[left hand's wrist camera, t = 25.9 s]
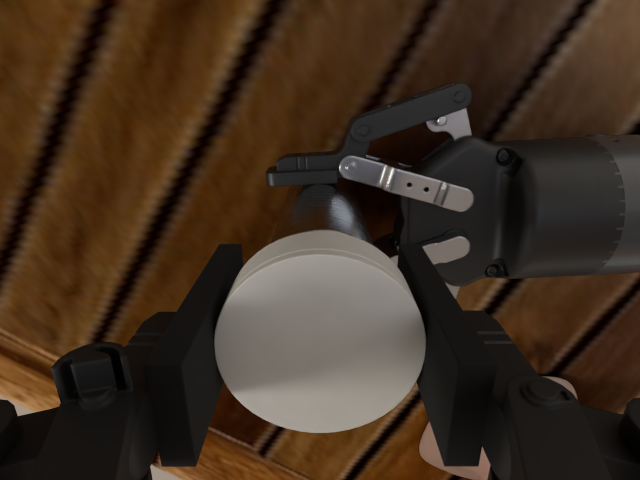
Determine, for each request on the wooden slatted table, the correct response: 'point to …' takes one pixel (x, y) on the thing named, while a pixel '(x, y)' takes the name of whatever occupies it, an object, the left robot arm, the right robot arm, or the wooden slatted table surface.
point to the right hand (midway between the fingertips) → (273, 222)
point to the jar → (322, 211)
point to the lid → (320, 333)
